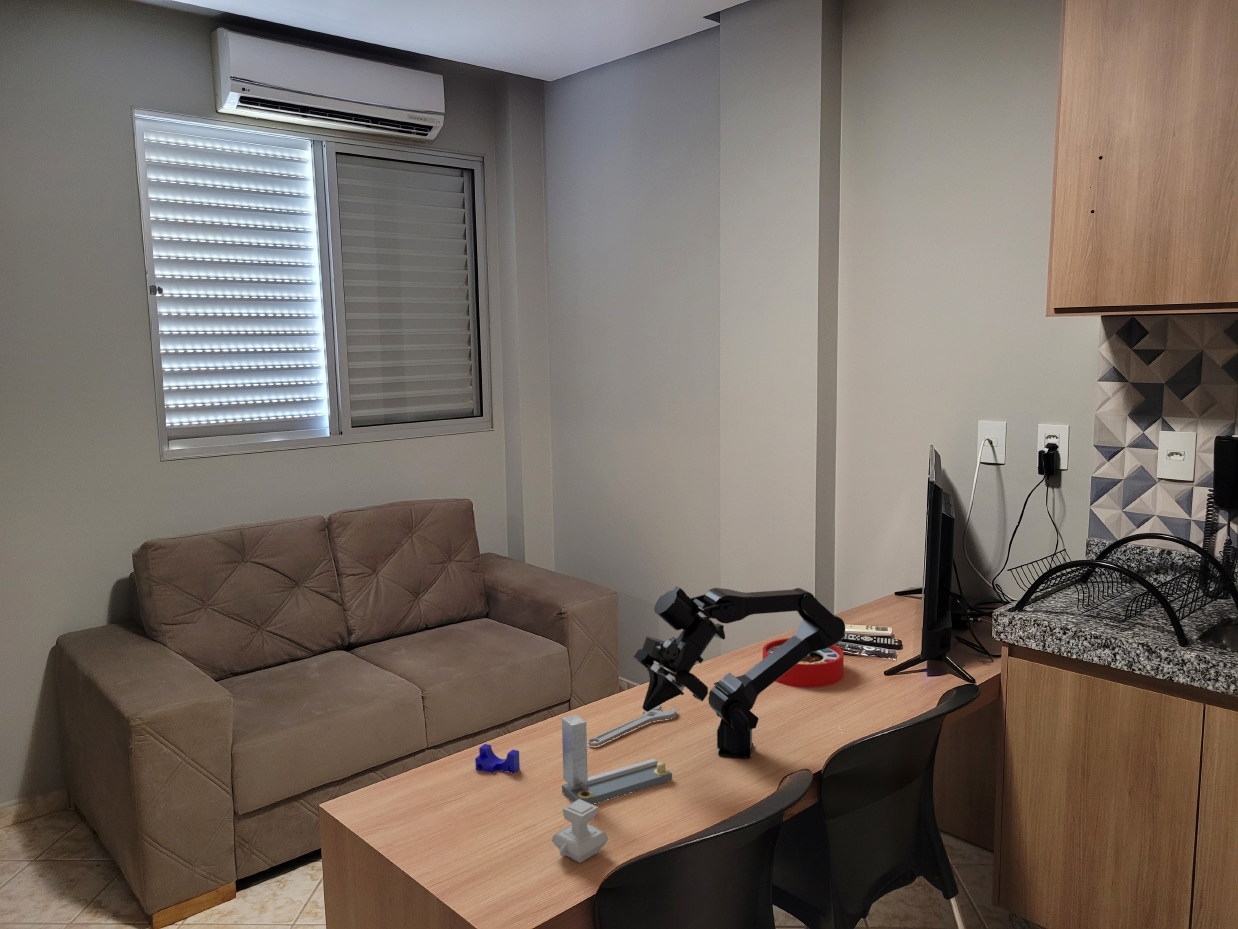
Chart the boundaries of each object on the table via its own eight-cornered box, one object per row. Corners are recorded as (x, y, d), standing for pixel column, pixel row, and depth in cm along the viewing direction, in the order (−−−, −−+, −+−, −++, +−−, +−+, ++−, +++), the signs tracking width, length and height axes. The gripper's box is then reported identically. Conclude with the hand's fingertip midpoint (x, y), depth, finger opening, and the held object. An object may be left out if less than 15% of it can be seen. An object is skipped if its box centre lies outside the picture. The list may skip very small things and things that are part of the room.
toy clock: (824, 671, 211) (748, 654, 223) (824, 694, 212) (748, 677, 223) (855, 646, 227) (783, 633, 239) (855, 669, 228) (783, 654, 240)
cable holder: (475, 770, 177) (474, 751, 176) (485, 762, 180) (484, 743, 180) (510, 777, 174) (509, 758, 173) (519, 770, 177) (519, 750, 176)
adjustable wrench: (594, 752, 185) (593, 744, 184) (575, 742, 190) (574, 734, 189) (681, 717, 201) (680, 709, 200) (661, 708, 206) (661, 701, 205)
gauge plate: (652, 766, 177) (652, 751, 177) (672, 780, 171) (672, 765, 171) (562, 792, 167) (561, 777, 167) (579, 809, 161) (579, 792, 161)
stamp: (585, 835, 152) (584, 789, 151) (613, 850, 148) (613, 802, 147) (546, 858, 146) (545, 810, 145) (574, 874, 141) (573, 824, 140)
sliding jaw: (577, 778, 169) (576, 714, 167) (593, 792, 163) (592, 726, 161) (563, 782, 167) (561, 717, 165) (579, 796, 162) (577, 730, 160)
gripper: (640, 609, 180) (594, 673, 176) (694, 634, 164) (644, 704, 160) (673, 639, 185) (629, 702, 181) (728, 666, 169) (681, 735, 165)
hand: (644, 710), depth 172 cm, fingers closed
